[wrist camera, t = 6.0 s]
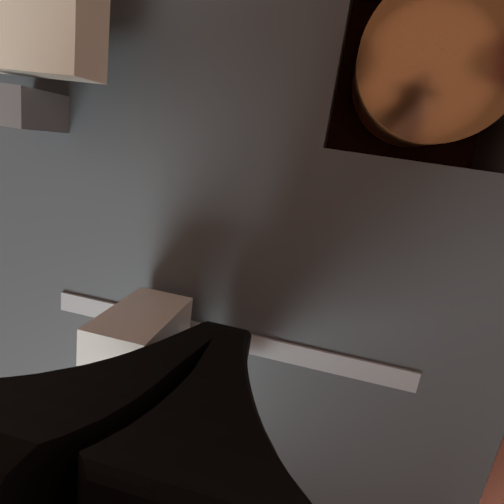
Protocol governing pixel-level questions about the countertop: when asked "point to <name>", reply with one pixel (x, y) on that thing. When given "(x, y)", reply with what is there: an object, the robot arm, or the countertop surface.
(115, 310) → the tan rectangular block
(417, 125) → the push button
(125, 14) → the panel
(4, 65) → the rocker switch
